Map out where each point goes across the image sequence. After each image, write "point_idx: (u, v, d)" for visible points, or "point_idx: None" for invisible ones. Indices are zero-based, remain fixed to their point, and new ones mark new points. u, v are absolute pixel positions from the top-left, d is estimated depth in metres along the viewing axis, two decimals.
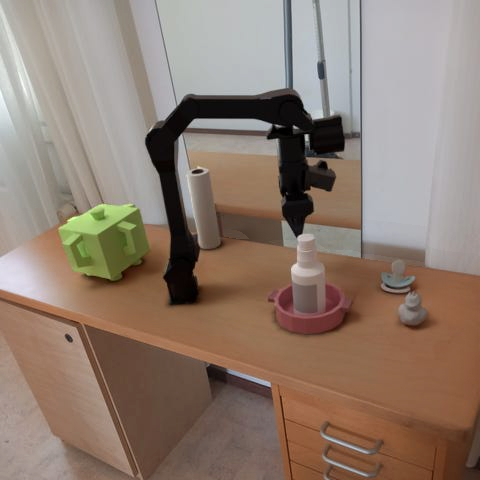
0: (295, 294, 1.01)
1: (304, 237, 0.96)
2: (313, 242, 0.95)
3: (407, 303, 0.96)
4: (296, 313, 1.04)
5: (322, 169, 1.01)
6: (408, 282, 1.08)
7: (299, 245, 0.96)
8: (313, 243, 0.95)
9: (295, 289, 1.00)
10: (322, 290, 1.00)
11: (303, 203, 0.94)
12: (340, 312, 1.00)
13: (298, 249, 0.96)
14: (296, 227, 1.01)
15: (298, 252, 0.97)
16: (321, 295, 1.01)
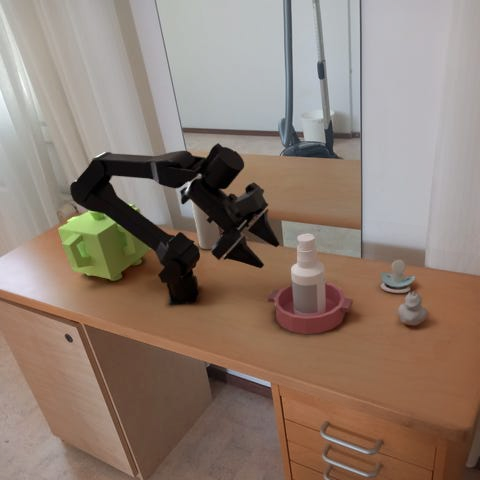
0: (295, 294, 1.01)
1: (304, 237, 0.96)
2: (313, 242, 0.95)
3: (407, 303, 0.96)
4: (296, 313, 1.04)
5: (246, 193, 0.97)
6: (408, 282, 1.08)
7: (299, 245, 0.96)
8: (313, 243, 0.95)
9: (295, 289, 1.00)
10: (322, 290, 1.00)
11: (220, 241, 0.93)
12: (340, 312, 1.00)
13: (298, 249, 0.96)
14: (248, 260, 0.97)
15: (298, 252, 0.97)
16: (321, 295, 1.01)
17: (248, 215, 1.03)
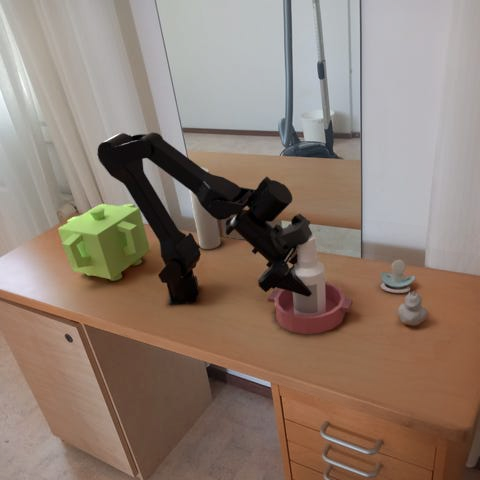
0: (295, 294, 1.01)
1: None
2: (313, 242, 0.95)
3: (407, 303, 0.96)
4: (296, 313, 1.04)
5: (293, 225, 0.97)
6: (408, 282, 1.08)
7: (299, 245, 0.96)
8: (313, 243, 0.95)
9: None
10: (322, 290, 1.00)
11: (269, 274, 0.93)
12: (340, 312, 1.00)
13: (298, 249, 0.96)
14: (296, 288, 0.98)
15: (298, 252, 0.97)
16: (321, 295, 1.01)
17: None
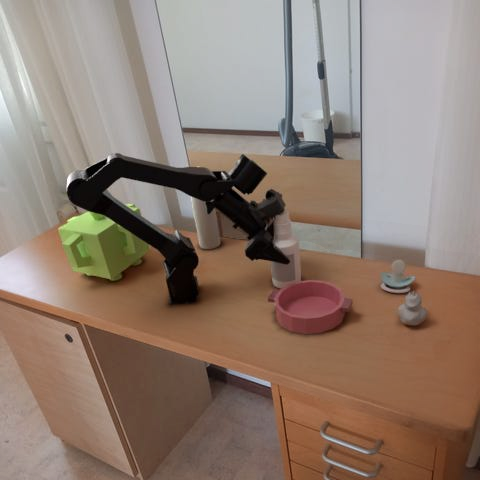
0: (274, 265, 1.13)
1: None
2: (288, 215, 1.07)
3: (407, 303, 0.96)
4: (276, 283, 1.16)
5: (268, 199, 1.08)
6: (408, 282, 1.08)
7: (276, 219, 1.07)
8: (288, 216, 1.07)
9: None
10: (298, 259, 1.13)
11: (256, 242, 1.03)
12: (340, 312, 1.00)
13: (275, 223, 1.08)
14: (276, 258, 1.08)
15: (275, 226, 1.08)
16: (297, 263, 1.13)
17: None
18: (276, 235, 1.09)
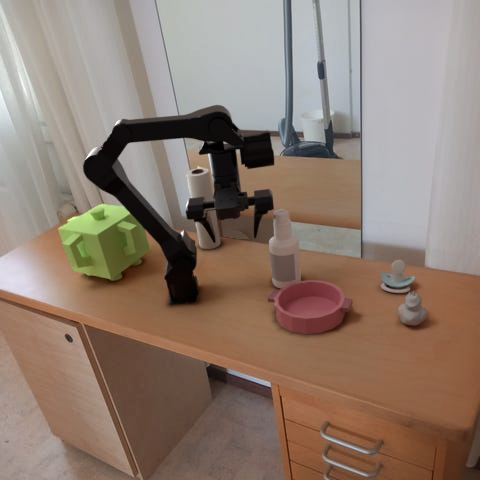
0: (274, 265, 1.13)
1: (279, 212, 1.08)
2: (288, 215, 1.07)
3: (407, 303, 0.96)
4: (276, 283, 1.16)
5: (231, 198, 0.99)
6: (408, 282, 1.08)
7: (276, 219, 1.07)
8: (288, 216, 1.07)
9: (275, 260, 1.12)
10: (298, 259, 1.13)
11: (186, 206, 1.05)
12: (340, 312, 1.00)
13: (275, 223, 1.08)
14: None
15: (275, 226, 1.08)
16: (297, 263, 1.13)
17: (249, 200, 1.05)
18: (276, 235, 1.09)
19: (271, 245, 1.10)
